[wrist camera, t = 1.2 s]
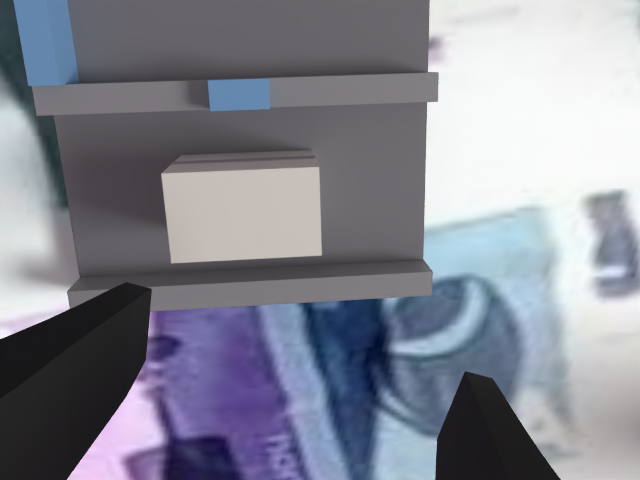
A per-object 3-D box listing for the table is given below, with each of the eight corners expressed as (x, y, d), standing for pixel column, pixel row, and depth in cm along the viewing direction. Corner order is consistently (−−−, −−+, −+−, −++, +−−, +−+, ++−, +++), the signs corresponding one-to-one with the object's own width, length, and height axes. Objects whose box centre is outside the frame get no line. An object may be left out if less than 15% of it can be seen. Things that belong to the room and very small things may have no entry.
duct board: (91, 291, 24) (63, 324, 21) (22, -144, 19) (-27, -185, 16) (416, 273, 25) (437, 303, 22) (425, -148, 20) (453, -187, 17)
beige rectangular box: (188, 230, 23) (170, 263, 19) (180, 154, 22) (160, 173, 18) (314, 224, 23) (322, 256, 19) (312, 149, 22) (319, 166, 18)
